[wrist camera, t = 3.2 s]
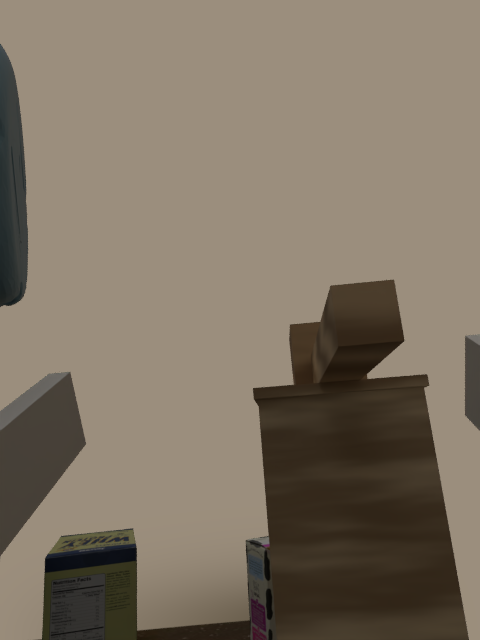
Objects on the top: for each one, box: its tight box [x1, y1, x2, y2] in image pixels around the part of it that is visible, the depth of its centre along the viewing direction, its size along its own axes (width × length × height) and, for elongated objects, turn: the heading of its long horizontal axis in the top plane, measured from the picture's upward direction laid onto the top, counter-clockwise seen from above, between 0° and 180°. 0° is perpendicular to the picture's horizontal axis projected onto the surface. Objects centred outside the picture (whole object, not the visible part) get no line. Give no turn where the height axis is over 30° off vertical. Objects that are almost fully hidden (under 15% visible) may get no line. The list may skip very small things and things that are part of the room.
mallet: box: [289, 280, 404, 385], centre depth 33 cm, size 24×6×6 cm, turn 174°
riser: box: [253, 374, 469, 640], centre depth 35 cm, size 13×13×30 cm
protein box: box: [42, 529, 137, 640], centre depth 58 cm, size 10×16×16 cm
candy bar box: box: [246, 536, 277, 640], centre depth 47 cm, size 11×5×16 cm, turn 115°
